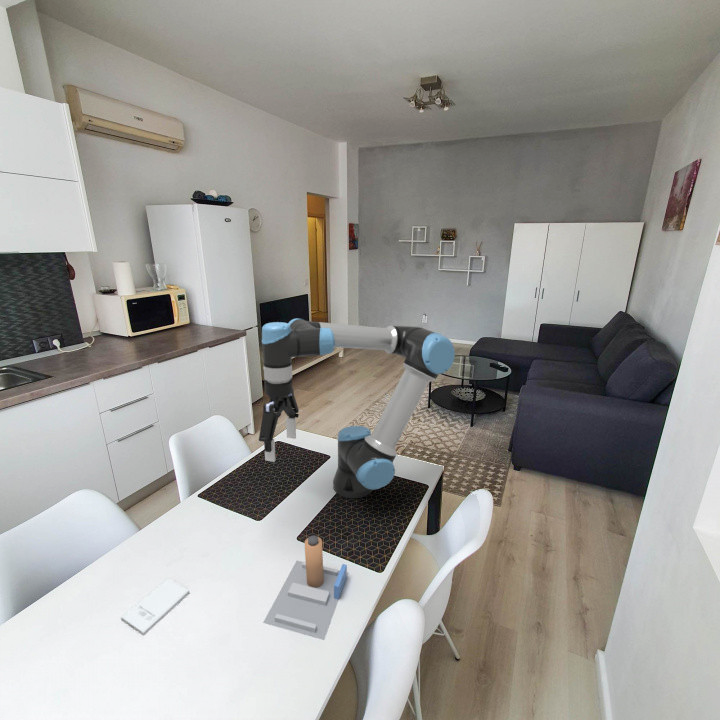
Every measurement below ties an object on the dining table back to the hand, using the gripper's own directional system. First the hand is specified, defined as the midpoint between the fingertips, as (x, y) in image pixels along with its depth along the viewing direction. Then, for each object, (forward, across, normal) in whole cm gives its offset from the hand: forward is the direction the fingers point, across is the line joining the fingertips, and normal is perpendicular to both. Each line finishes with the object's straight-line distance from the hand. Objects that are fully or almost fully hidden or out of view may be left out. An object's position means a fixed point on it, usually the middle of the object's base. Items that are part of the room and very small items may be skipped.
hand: (281, 448), depth 110 cm
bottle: (+27, +16, +16) cm, 36 cm away
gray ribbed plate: (+29, +20, +16) cm, 39 cm away
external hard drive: (+29, +32, -19) cm, 48 cm away
